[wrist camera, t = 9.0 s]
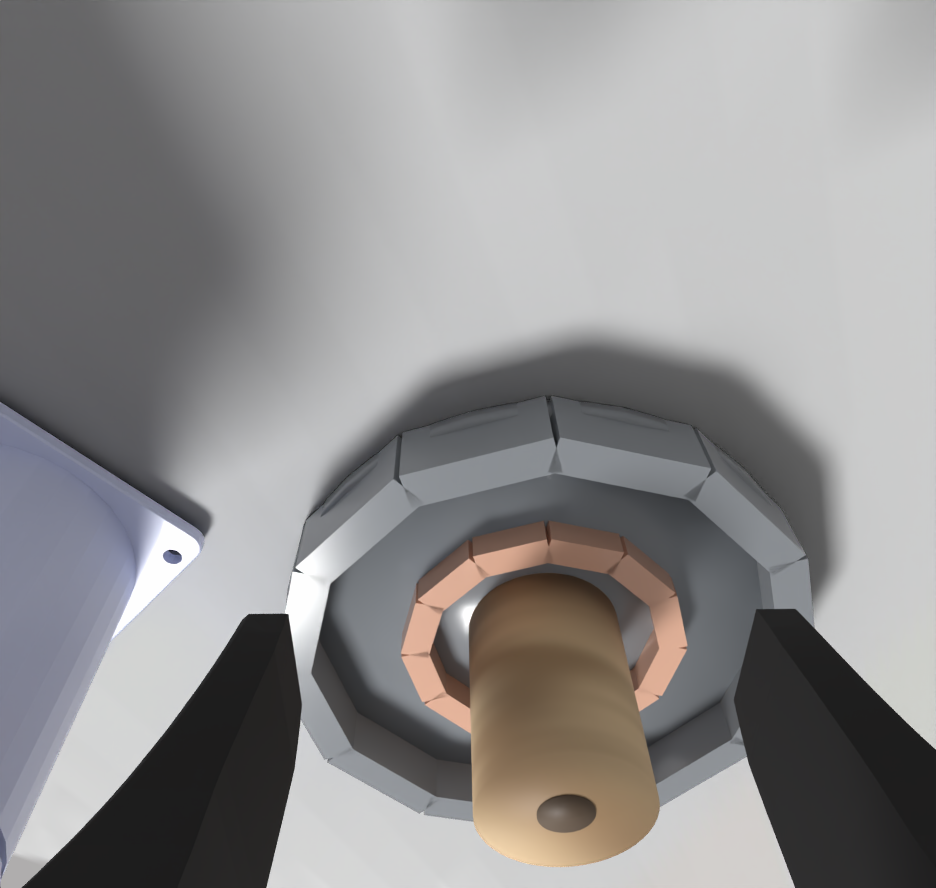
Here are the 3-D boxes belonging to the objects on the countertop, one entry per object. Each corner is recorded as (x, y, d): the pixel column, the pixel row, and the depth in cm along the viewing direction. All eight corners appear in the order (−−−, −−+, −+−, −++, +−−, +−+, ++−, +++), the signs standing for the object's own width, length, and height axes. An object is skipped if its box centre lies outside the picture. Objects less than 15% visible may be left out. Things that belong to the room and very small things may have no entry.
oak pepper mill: (540, 701, 27) (561, 889, 22) (437, 632, 25) (434, 818, 20) (648, 626, 25) (698, 811, 20) (546, 547, 23) (571, 727, 18)
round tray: (531, 828, 31) (536, 881, 30) (187, 626, 26) (169, 677, 24) (890, 608, 26) (921, 657, 24) (552, 285, 20) (562, 320, 18)
